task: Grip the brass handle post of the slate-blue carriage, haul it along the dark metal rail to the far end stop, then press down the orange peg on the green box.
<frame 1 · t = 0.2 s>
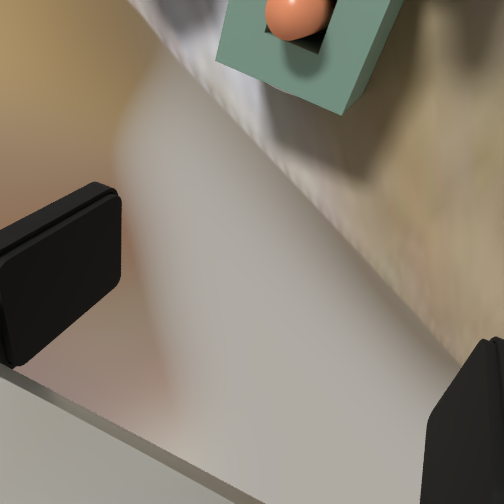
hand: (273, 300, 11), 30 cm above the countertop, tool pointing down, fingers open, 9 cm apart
orange peg: (306, 10, 29), point 7 cm above the countertop, slide at 0.0 cm
green box: (331, 6, 34), on the countertop
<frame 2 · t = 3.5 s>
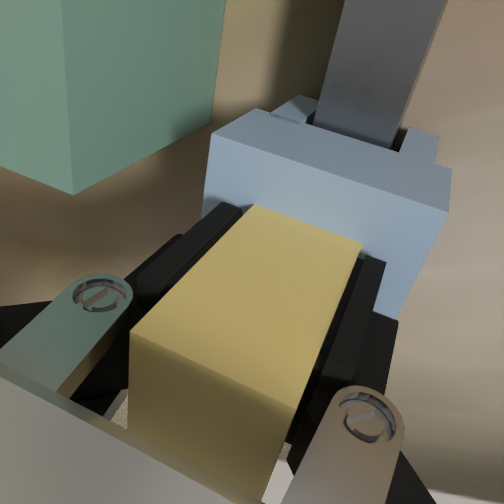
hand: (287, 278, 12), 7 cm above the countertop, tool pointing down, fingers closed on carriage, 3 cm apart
carriage: (295, 265, 12), point 6 cm above the countertop, slide at 4.8 cm, touching gripper
rail: (386, 58, 15), on the countertop
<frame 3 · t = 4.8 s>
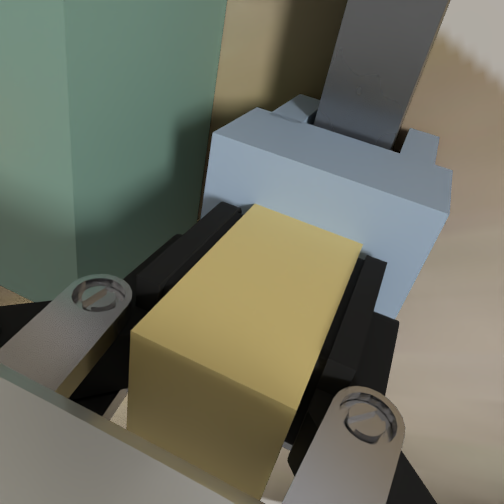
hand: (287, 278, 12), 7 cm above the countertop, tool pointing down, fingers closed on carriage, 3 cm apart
carriage: (295, 264, 12), point 6 cm above the countertop, slide at -0.2 cm, touching gripper
green box: (109, 85, 19), on the countertop
rail: (342, 190, 17), on the countertop
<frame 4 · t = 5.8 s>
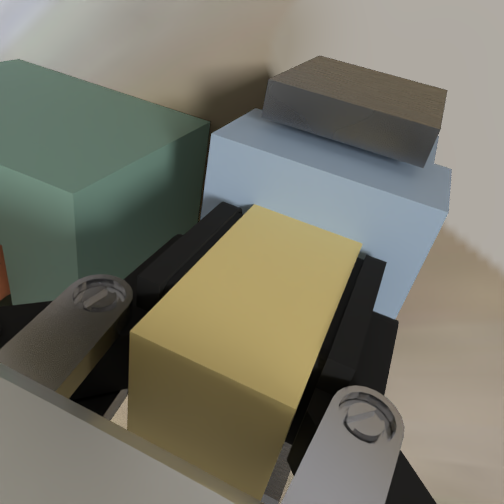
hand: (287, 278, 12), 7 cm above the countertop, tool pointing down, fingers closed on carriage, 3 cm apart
carriage: (295, 265, 12), point 6 cm above the countertop, slide at -5.2 cm, touching gripper
green box: (109, 190, 22), on the countertop
rail: (310, 287, 20), on the countertop
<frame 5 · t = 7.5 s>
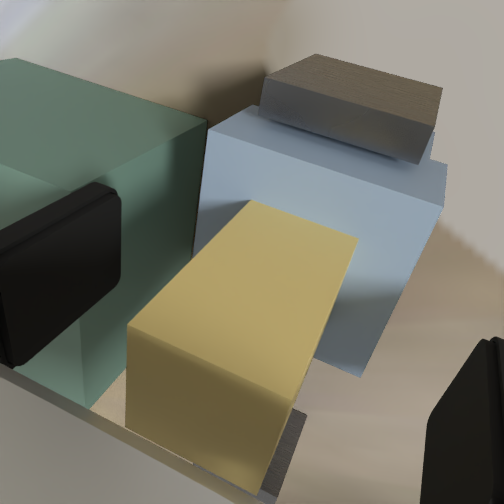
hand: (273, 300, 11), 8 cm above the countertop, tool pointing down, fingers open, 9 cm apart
carriage: (292, 260, 12), point 6 cm above the countertop, slide at -5.2 cm
green box: (107, 188, 22), on the countertop
rail: (307, 284, 20), on the countertop
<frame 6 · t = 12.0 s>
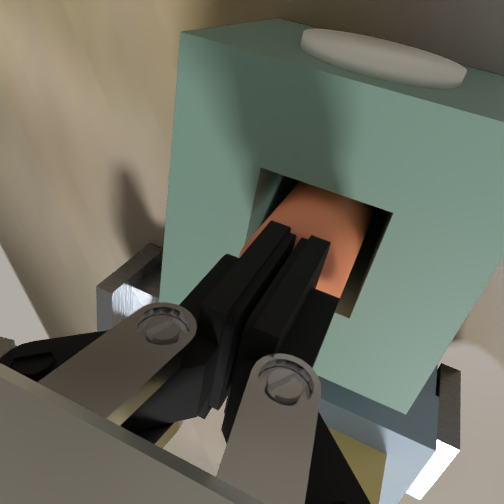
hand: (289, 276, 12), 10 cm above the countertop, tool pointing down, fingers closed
orange peg: (321, 222, 15), point 6 cm above the countertop, slide at 0.5 cm, touching gripper
carriage: (344, 453, 20), point 6 cm above the countertop, slide at -5.2 cm
green box: (356, 165, 20), on the countertop
rail: (283, 329, 26), on the countertop
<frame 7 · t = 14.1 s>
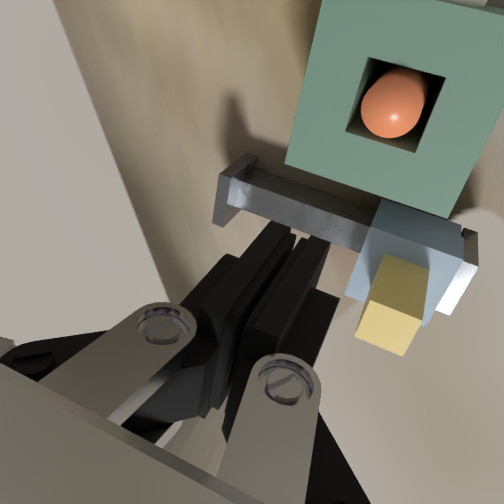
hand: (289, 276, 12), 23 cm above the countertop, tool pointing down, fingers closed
orange peg: (399, 94, 26), point 5 cm above the countertop, slide at 1.9 cm
carriage: (399, 277, 30), point 6 cm above the countertop, slide at -5.2 cm
green box: (408, 79, 29), on the countertop
rail: (346, 214, 36), on the countertop
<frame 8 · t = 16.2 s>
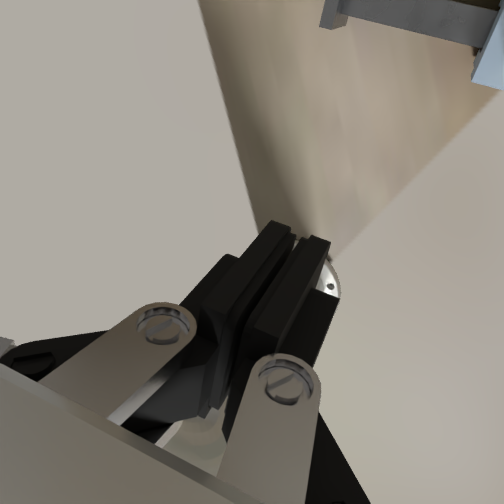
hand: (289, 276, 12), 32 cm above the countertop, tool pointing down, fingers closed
rail: (459, 20, 34), on the countertop
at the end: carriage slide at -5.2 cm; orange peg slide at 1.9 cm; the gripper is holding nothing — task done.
